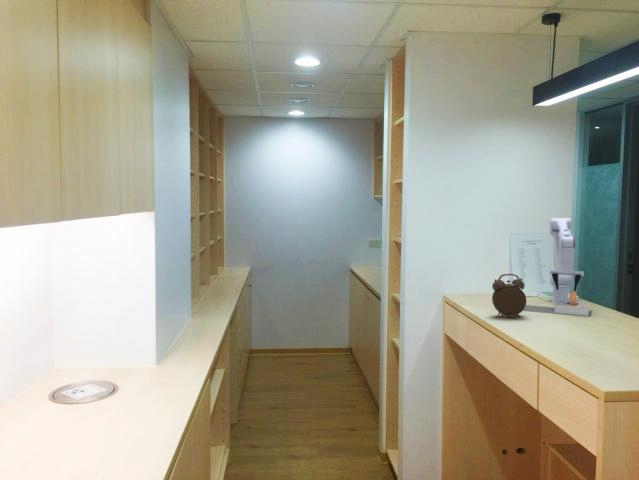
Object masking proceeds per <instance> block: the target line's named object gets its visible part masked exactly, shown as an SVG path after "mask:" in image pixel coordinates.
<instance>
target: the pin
mask: <svg viewBox="0 0 639 480" xmlns="http://www.w3.org/2000/svg"><path fill="white" fill-rule="evenodd" d="M577 294H578V292H577V291H573V290H572V291H569V297H568V301H569V304H572V305H576V301H577V296H578V295H577Z"/></svg>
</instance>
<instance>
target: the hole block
mask: <svg viewBox="0 0 639 480" xmlns="http://www.w3.org/2000/svg"><path fill="white" fill-rule="evenodd" d="M554 307H555V313H558V314H557V315H563V314H569V315H568V316H574V315H581V316H580V317H585V316H588V315H589V312H590V310H591V302H587V301H577V300H576V305H572V304H569V300H568V301H564V300H558V301H557V302H556V304H554Z"/></svg>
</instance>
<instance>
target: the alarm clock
mask: <svg viewBox="0 0 639 480" xmlns="http://www.w3.org/2000/svg"><path fill="white" fill-rule="evenodd" d="M505 276H513V277H514V276H515V277H516V278H517V279H516V278H515V279H514V280H512V281H511V280H506V282H507V283H505V281H503V280H502V277H505ZM510 282H511V284H509V283H510ZM525 285H526V284H525V283H524V281H523V278H520V277H519V276H518V275H517V274H514V273H503V274H501V275H500V276H499V277H498V278H497V279H496V278H495V279H494V281H493V283H492V285H491V286H492V289H493V292H492V296H491V300H492V301H491V302H492V304H493V306H494V308H495V310H496V311H497V312H498V314H497V317H499V316H500V317H499V318H502V317H503V316H506V317H515V316H517V317H518V318H520V314H521V313H522V312H524V311H523V310H524V308H525V306H526V305H527V296H526V293H524V288H525Z"/></svg>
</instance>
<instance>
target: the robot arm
mask: <svg viewBox="0 0 639 480" xmlns="http://www.w3.org/2000/svg"><path fill="white" fill-rule="evenodd" d="M572 224H573V223H572V218H571V217H551V218H550V219H549V234H550V236H552V237H553V238H554V249H555V251H554V252H555V267H554V268H552V269H550V270H549V275H550V277H549V282H550V283H549V284H550V286H552V301H551V303H550V304H551V305H555V304H556V302H557V301H558V300H564V301H569V296H570V291H569V289H570V287H571V286H573V276H574V288H573V290H574V291H573V292H577V287H578V284H579V281H580V280H581V278H582V277H584V276H585V271H580V270H574V262H575V261H574V259H575V256H574V255H575V254H574V253H575V248H576V243H577V242H576V237H575V235H573V234H572V232H571V230H572Z"/></svg>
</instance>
